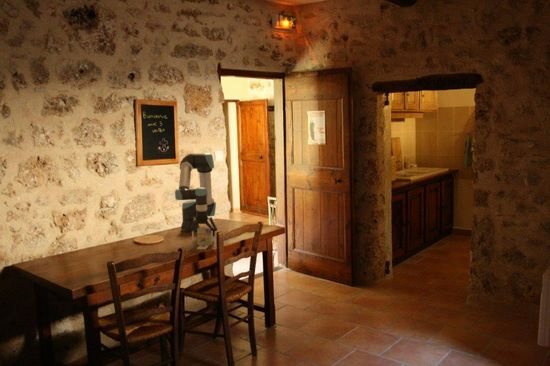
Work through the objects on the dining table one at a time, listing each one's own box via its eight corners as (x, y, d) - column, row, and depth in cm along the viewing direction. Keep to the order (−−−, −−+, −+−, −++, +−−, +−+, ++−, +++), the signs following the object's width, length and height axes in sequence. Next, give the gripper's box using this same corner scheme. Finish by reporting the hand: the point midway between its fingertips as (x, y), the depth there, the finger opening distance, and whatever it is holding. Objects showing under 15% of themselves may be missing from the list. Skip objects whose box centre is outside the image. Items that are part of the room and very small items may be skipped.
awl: (200, 246, 347) (199, 233, 345) (201, 245, 350) (200, 232, 349) (205, 246, 346) (204, 234, 345) (206, 245, 350) (205, 232, 348)
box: (214, 243, 359) (213, 227, 357) (212, 245, 353) (211, 228, 352) (199, 243, 360) (199, 227, 359) (197, 245, 354) (197, 228, 353)
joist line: (205, 240, 367) (205, 239, 367) (213, 241, 366) (213, 239, 366) (197, 249, 344) (197, 248, 344) (205, 249, 343) (205, 248, 343)
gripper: (182, 211, 343) (183, 242, 346) (218, 211, 340) (219, 242, 343) (185, 209, 350) (186, 239, 353) (220, 209, 348) (222, 239, 350)
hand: (203, 240), depth 348 cm, fingers open, 13 cm apart
